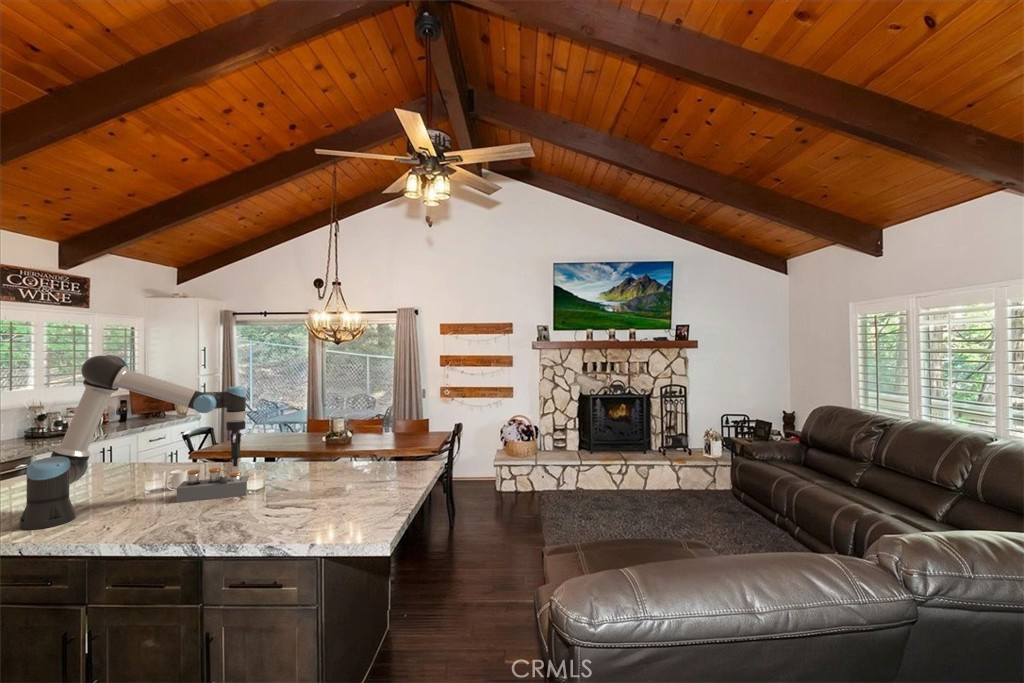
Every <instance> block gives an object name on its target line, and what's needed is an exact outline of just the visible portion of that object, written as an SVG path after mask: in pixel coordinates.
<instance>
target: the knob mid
mask: <svg viewBox="0 0 1024 683" xmlns="http://www.w3.org/2000/svg"><path fill="white" fill-rule="evenodd" d="M221 471H222V468H221V467H213V468H209V469H208V472H209V479H210V482H209V484H210V483H220V476H221Z"/></svg>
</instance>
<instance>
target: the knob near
mask: <svg viewBox="0 0 1024 683" xmlns="http://www.w3.org/2000/svg"><path fill="white" fill-rule="evenodd" d="M200 473H201V470H200V469H192V470H188V471H187V481H188V485H199V480H200Z"/></svg>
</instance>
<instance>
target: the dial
mask: <svg viewBox="0 0 1024 683" xmlns="http://www.w3.org/2000/svg"><path fill="white" fill-rule="evenodd" d="M227 478H228V475H220V484H226V483H227Z"/></svg>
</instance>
